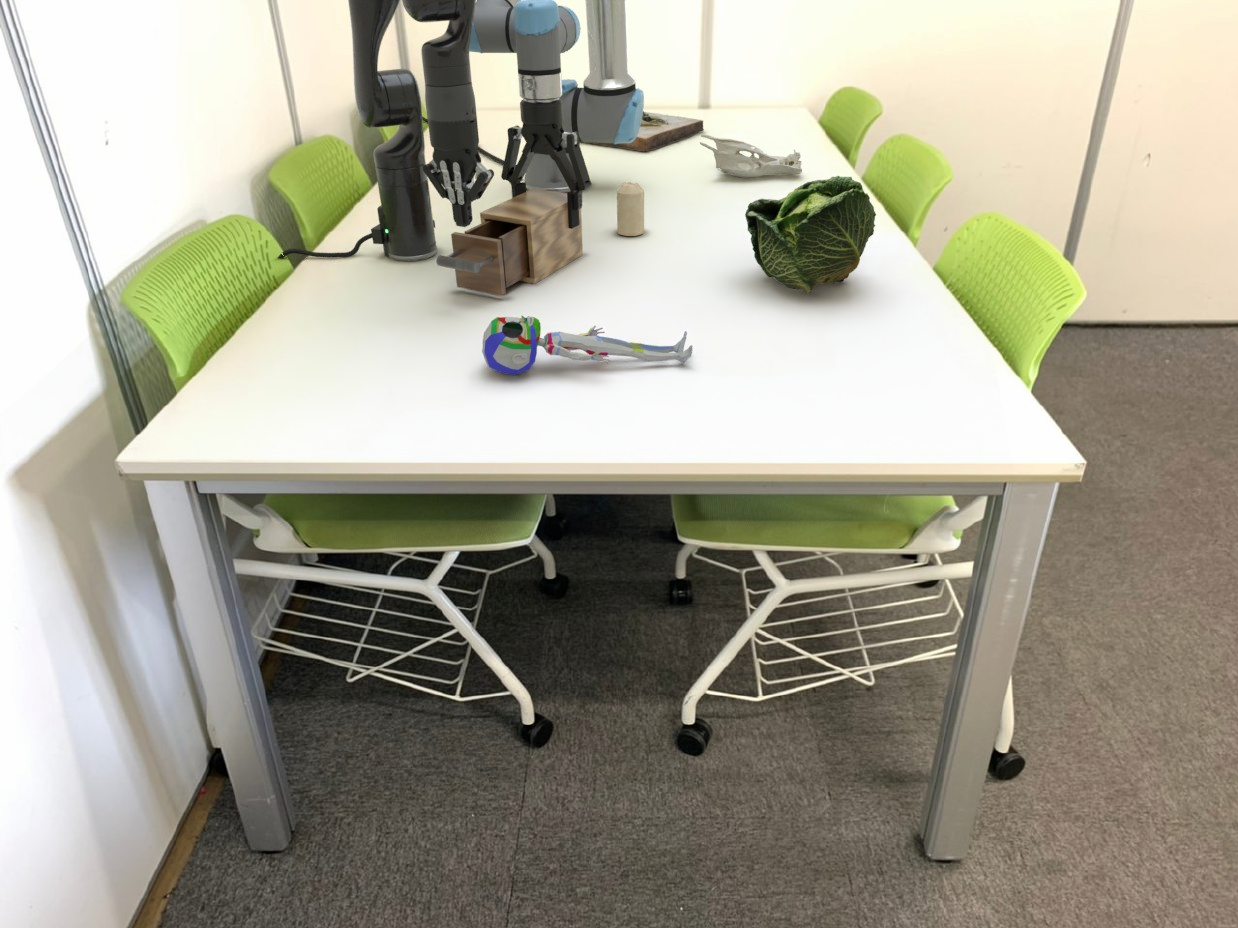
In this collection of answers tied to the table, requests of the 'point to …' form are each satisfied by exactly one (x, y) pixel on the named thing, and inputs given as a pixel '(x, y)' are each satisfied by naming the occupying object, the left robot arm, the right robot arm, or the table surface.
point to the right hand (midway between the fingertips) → (547, 222)
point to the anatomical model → (751, 160)
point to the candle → (630, 209)
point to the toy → (561, 345)
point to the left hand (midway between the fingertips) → (463, 225)
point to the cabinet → (542, 230)
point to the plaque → (660, 131)
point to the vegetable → (812, 232)
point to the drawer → (489, 256)
